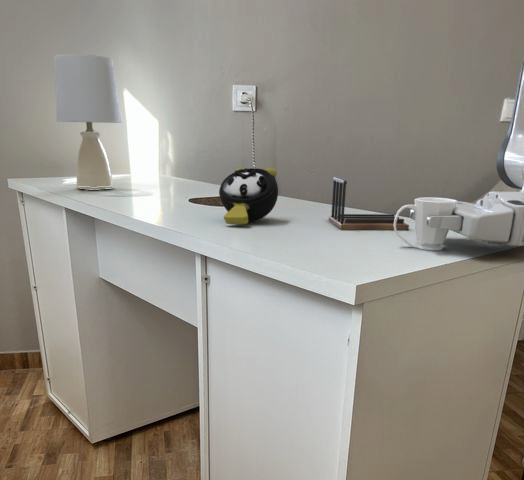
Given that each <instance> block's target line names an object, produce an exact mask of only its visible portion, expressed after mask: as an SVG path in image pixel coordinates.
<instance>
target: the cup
mask: <svg viewBox="0 0 524 480" xmlns="http://www.w3.org/2000/svg"><path fill="white" fill-rule="evenodd" d="M457 201H458V200H457V199H452V198H447V197H433V196H432V197H417V198H415V199H414V204H405V205H403V206H401V207H400V208H399V209H398V210H397V212H396V214H395V215H394V216H395V219H394V230H393V231H394V232H395V234H396V236H397V237H398V238H399V239H400V240H401V241H403V242H404V243H405V244H407V245H408V246H410V247H412V248H414V249H415V248H416V249H420V250H423V251H442V250H443V249H444V245H441V244H443V243H444V242H445V241H446V238H447V236H448V233H449V231H450V230H449V229H443V228H431V227H429V226H427V224H426V223H427V217H428V216H429V215H438V216H452V215H453V214H454V213H453V210H454V209H455V208H456V204H457ZM405 209H415V220H414V225H415V226H414V229H415V236H416V241H417V242H418V244H413V243H411V242H409V241H408V240H406V239H405V238H404V237H403V236H402V235H401V234H400V233H399V231H398V230H396V221H397V218H398V217H399V215H400V214H401V213H402V211H403V210H405Z"/></svg>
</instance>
